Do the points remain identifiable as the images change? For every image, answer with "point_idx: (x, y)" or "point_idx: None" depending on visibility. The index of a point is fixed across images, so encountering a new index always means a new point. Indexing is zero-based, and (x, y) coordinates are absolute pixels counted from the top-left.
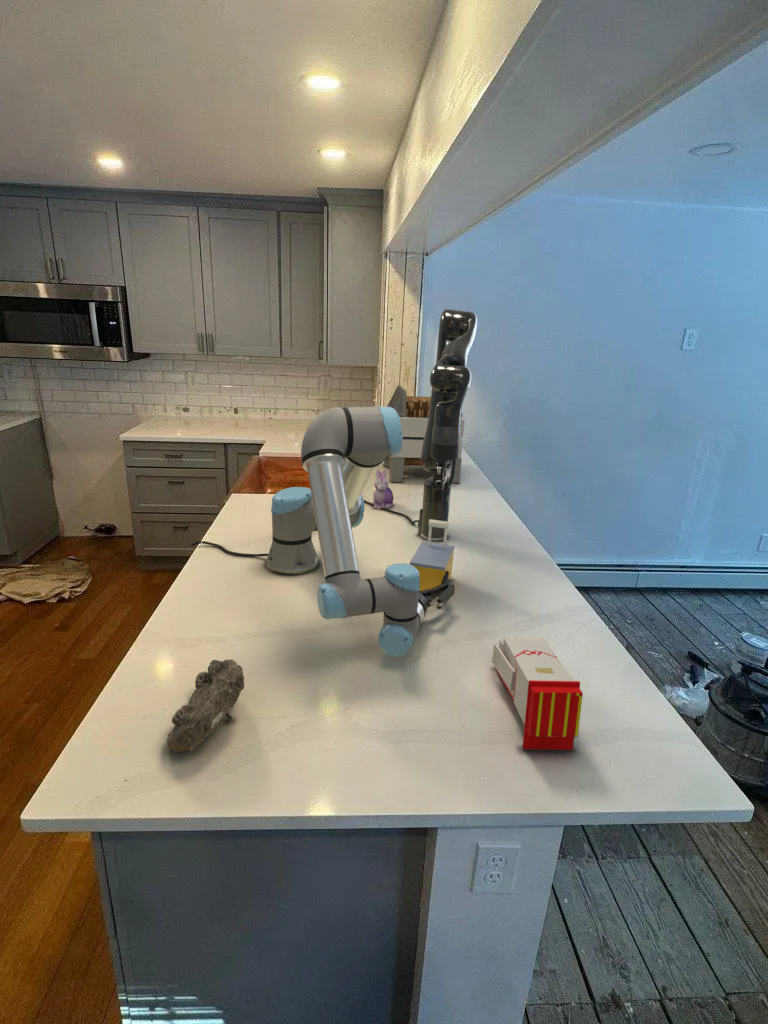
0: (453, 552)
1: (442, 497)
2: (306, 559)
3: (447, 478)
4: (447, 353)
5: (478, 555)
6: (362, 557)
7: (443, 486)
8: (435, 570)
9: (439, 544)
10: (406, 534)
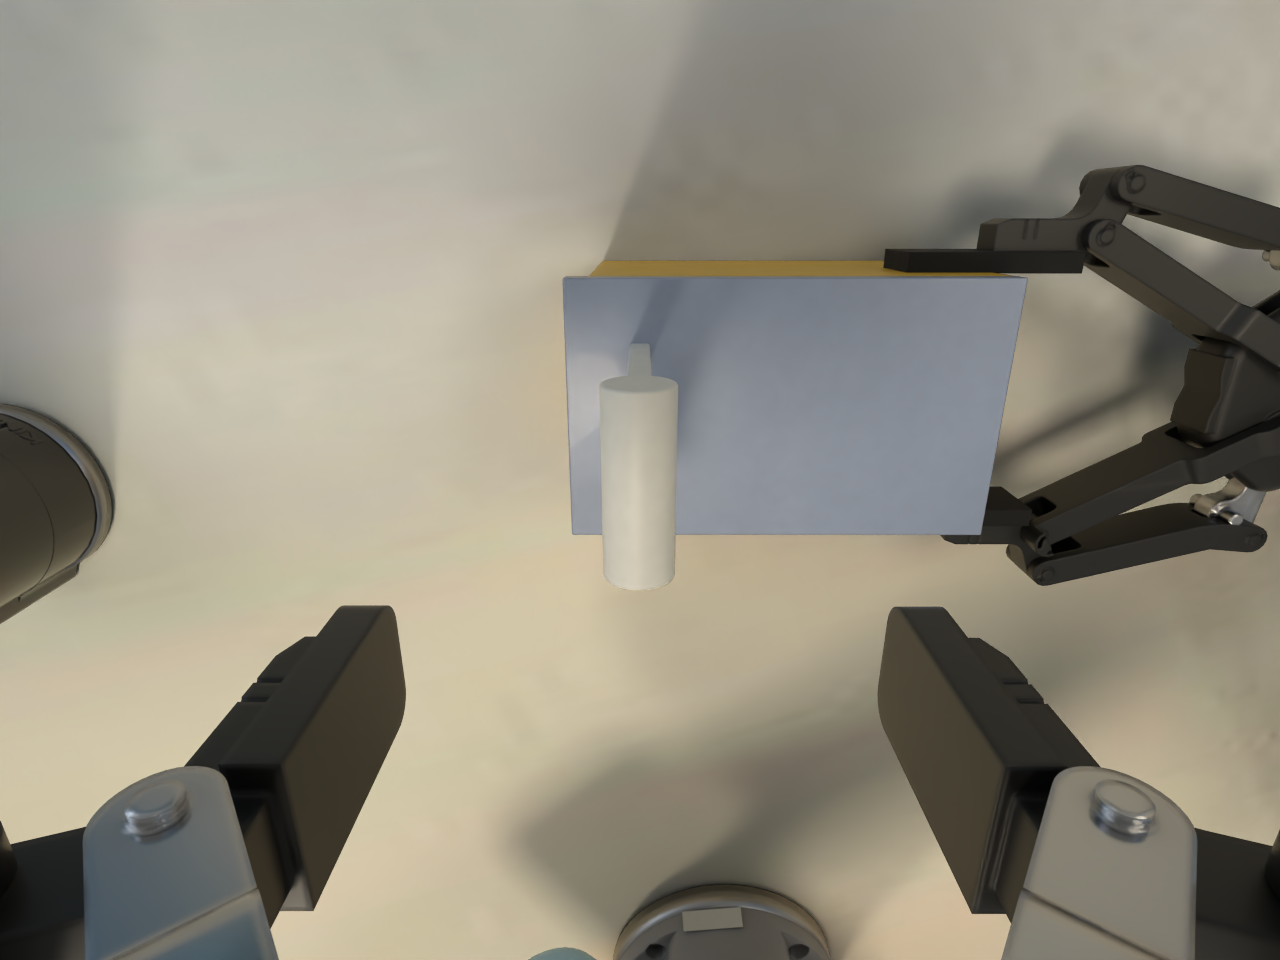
0: (597, 274)
1: (938, 646)
2: (783, 955)
3: (248, 859)
4: None
5: (145, 132)
6: (530, 753)
7: (1133, 836)
8: None
9: (585, 403)
10: (105, 637)
